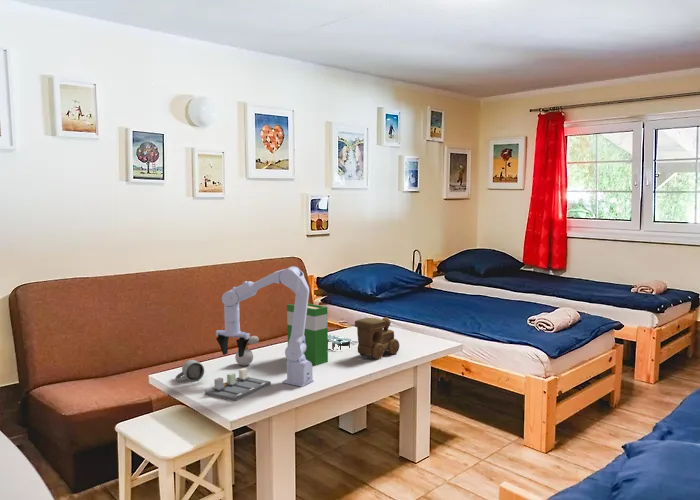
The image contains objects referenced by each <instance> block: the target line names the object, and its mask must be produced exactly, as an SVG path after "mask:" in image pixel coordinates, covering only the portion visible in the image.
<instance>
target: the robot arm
mask: <svg viewBox="0 0 700 500" xmlns="http://www.w3.org/2000/svg"><path fill="white" fill-rule="evenodd" d="M273 283H275V284H282V285H284V286H285V287H287V288H289V289H290V290H291V291H292V292H293V293H294V294H295V297H294V304H293V305H294V313H293V322H292V331H291V336H290V339H289V344H288V343H287V347H286V348H285V350H284V354H285V358H286V379H284V380H282V384H286V385H292V386H298V387H304V386H306V385H309V384H310V383H312V382H314V379H313V365H312V363H311V362H310V361H307V360H306V357H305V355H304V352H305V351H306V343H305V335H304V332H305V323H306V315H307V306H308V304H309V298H310V297H309V296H310V287H309V284H308V283H307V280H306V278H305V274H304V272H303V271H302V270H301V269H300V268H299V267H297V266H294V265H293V266H289V267H288V268H283V269H280V270H276V271H274V272H272V273H270V274H268V275H266V276H264V277H262V278H260V279H258V280H257V281H251V280H249V281H247V280H245V281H243V282H242V283H241V284H240V285H238V286H233V287H232V289H230V290H228V291H227V290H226V291H225V292H224V293H223V294H222V296H221V303H222V304H223V306H224V307H223V308H224V311H223V312H224V314H223V315H224V329H223V330H222V329H217V330H215V336H216V338H215V339H216V341H217V343H218V345H219V347H220V350H221V353H222V355H223V356H225V355H227V354H228V349H229V348H228V347H229V346H228V345H229V338H234V339H235V338H237V339H236V340H235V341H236V344H237V348H238V349H237V351H238V353H239V357H242V356H244V351H245V347H246V345H247V346H248V344H249V343H248V341H249V338H250V337H251V336H250V335H251V333H249V332H244V331H241V325H240V323H241V320H240V318H241V317H240V302H243V301H245V300H247V299H249V298H251V297H253V296H255V295H257V292H258V290H260V289H262V288H265V287H267V286H270V285H272V284H273Z"/></svg>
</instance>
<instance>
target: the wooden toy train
mask: <svg viewBox="0 0 700 500" xmlns="http://www.w3.org/2000/svg"><path fill="white" fill-rule="evenodd" d="M391 323H392V322H391V320H390V319H389V317H383V318H382V319H380V318H376V317H365V318H360V319H357V320H355V321H354V327H355V328H357V331H356V333H357V341H358V342H357V343H358V344H357V345H358V347H357V353H358V355H360V356H372V357H373V358H374V359H375V360H380V359H382V357H383V356H384V354H385V352H387V351H388V353H389V354H390V355H395V354H397V353H398V352H399V350H400V342H399V340H398V339H396V338H395V331H394V330H392V329H389V328H390V325H391ZM379 358H380V359H379Z"/></svg>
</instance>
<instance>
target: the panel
mask: <svg viewBox="0 0 700 500" xmlns="http://www.w3.org/2000/svg"><path fill="white" fill-rule="evenodd" d="M249 377H250V376H249ZM237 378H238V377H236V382H238V383H237V384H235V385H233V386H231V385H227V384H225V383H226V382H223V386H224V387H226V389H223V390H221V391H217V390H213V389H212V388H209V389H207V390H205V391H204V395H206V396H210V397H215V398H219V399H223V400H228V401H231V402H236V401H239V400H241V399H243V398H245V397H247V396H250V395H251V394H254V393H256V392H258V391H260V390H262V389H264V388H266V387H269V386H271V385H272V384H271V383H272V381H269V380H265V379H261V378H260V379H259V378H255V377H250V378H249V379H247V380H244V381H243V380H239V379H237Z"/></svg>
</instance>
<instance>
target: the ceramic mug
mask: <svg viewBox="0 0 700 500" xmlns="http://www.w3.org/2000/svg"><path fill="white" fill-rule="evenodd" d="M181 368H182V370H181V372H180V373H177V375H176V376H175V380H176V382H177V383H179V382H182V381H184V380H188V381H189V382H198V381H200V380H202V378H203V376H204V374H205V366H203V364H202V363H201V362H199V361H197V360H196V359H189V360H186V361H185V362H184V363H183V365H182V367H181Z"/></svg>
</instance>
